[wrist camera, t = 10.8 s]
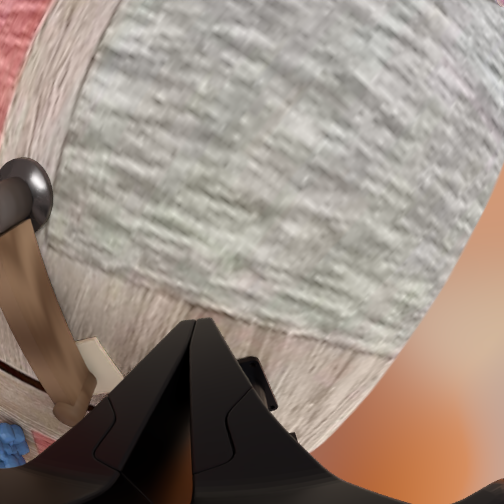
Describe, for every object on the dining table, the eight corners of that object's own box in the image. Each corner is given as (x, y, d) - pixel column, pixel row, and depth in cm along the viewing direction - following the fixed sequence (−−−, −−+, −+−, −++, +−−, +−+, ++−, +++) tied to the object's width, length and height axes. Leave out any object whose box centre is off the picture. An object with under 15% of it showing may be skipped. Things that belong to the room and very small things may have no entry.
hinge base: (64, 216, 18) (60, 218, 17) (15, 241, 18) (11, 244, 17) (37, 143, 16) (32, 144, 15) (-10, 177, 16) (-15, 179, 15)
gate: (-4, 182, 15) (-87, 220, 8) (27, 171, 15) (-62, 208, 8) (75, 386, 22) (45, 458, 15) (104, 388, 22) (78, 465, 15)
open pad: (130, 386, 23) (129, 389, 23) (83, 393, 24) (81, 396, 23) (95, 336, 21) (94, 339, 21) (48, 347, 22) (46, 350, 21)
